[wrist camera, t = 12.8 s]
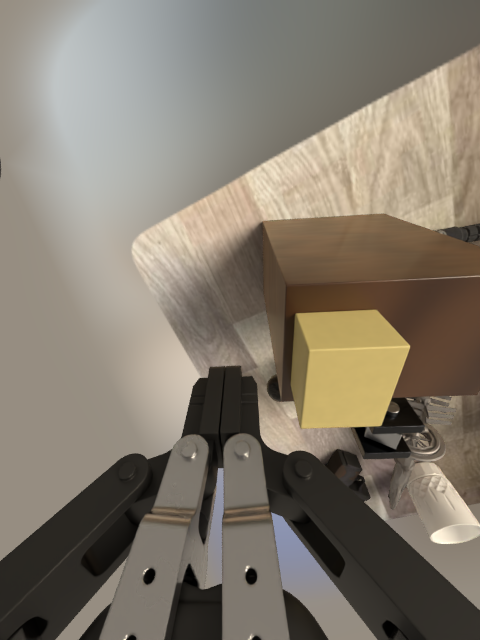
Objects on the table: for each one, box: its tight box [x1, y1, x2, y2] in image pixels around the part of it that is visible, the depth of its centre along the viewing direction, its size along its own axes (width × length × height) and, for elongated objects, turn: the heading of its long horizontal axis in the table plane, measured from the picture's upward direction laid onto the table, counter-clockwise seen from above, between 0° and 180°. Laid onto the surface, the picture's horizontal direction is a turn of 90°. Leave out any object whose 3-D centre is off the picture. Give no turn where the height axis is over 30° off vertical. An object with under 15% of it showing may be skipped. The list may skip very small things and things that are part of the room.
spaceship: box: [388, 396, 456, 510], centre depth 37 cm, size 8×35×8 cm
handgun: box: [326, 449, 370, 502], centre depth 48 cm, size 3×14×10 cm
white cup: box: [406, 462, 480, 544], centre depth 45 cm, size 8×8×10 cm
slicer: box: [350, 397, 425, 459], centre depth 29 cm, size 14×8×13 cm, turn 93°
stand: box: [263, 214, 480, 402], centre depth 20 cm, size 12×8×16 cm, turn 93°
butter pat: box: [291, 310, 410, 429], centre depth 12 cm, size 4×5×3 cm
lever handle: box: [267, 374, 402, 449], centre depth 28 cm, size 14×3×3 cm, turn 93°
